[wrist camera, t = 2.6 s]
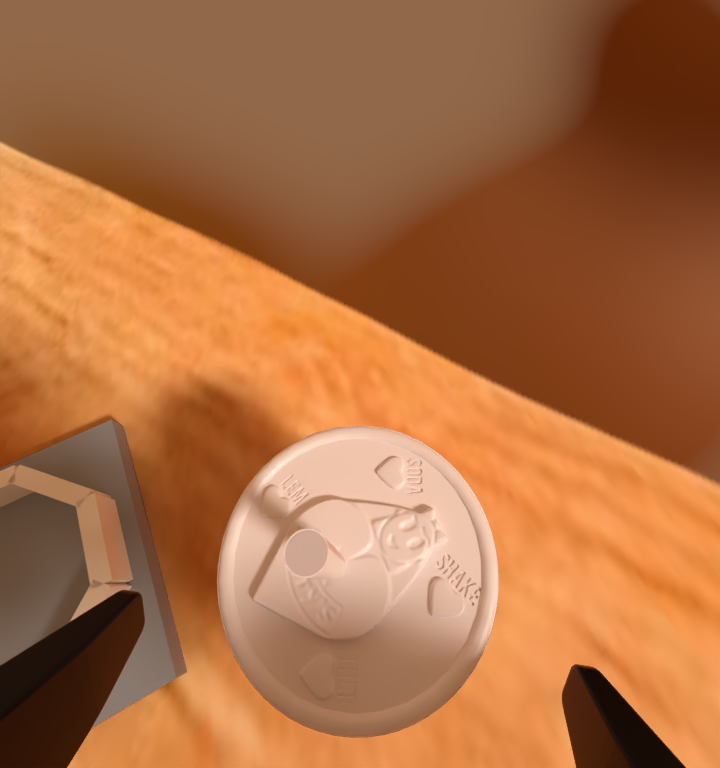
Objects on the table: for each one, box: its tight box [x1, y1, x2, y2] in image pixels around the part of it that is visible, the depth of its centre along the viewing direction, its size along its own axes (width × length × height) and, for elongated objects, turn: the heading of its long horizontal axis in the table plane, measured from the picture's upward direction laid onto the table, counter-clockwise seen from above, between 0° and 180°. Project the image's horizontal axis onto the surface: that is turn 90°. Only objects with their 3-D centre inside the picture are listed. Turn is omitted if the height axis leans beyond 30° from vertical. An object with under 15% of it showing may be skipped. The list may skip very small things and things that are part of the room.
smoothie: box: [217, 426, 499, 738], centre depth 11 cm, size 6×6×14 cm
